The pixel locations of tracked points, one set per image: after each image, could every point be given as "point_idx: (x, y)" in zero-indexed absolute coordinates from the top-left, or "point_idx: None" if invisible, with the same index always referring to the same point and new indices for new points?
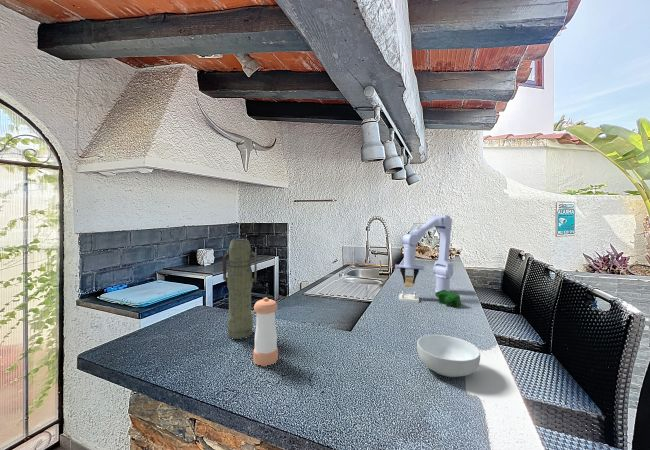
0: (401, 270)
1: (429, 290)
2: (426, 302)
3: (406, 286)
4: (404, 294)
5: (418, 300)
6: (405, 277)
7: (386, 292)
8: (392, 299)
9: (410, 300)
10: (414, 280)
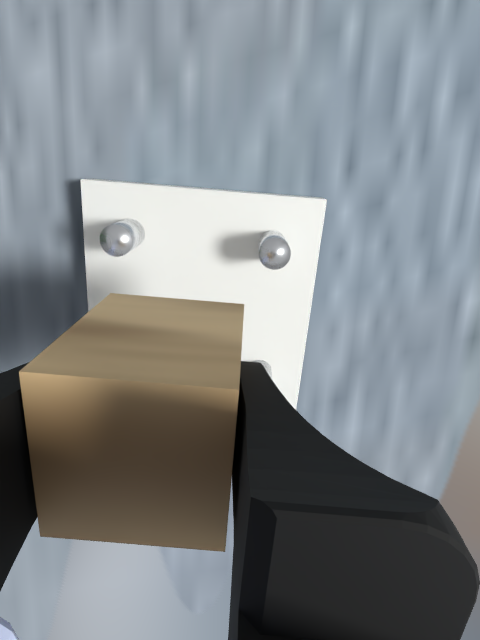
0: (424, 552)
1: (21, 596)
2: (12, 207)
3: (219, 303)
4: None
5: (88, 179)
6: (231, 385)
7: (415, 475)
8: (387, 236)
9: (183, 188)
10: None
